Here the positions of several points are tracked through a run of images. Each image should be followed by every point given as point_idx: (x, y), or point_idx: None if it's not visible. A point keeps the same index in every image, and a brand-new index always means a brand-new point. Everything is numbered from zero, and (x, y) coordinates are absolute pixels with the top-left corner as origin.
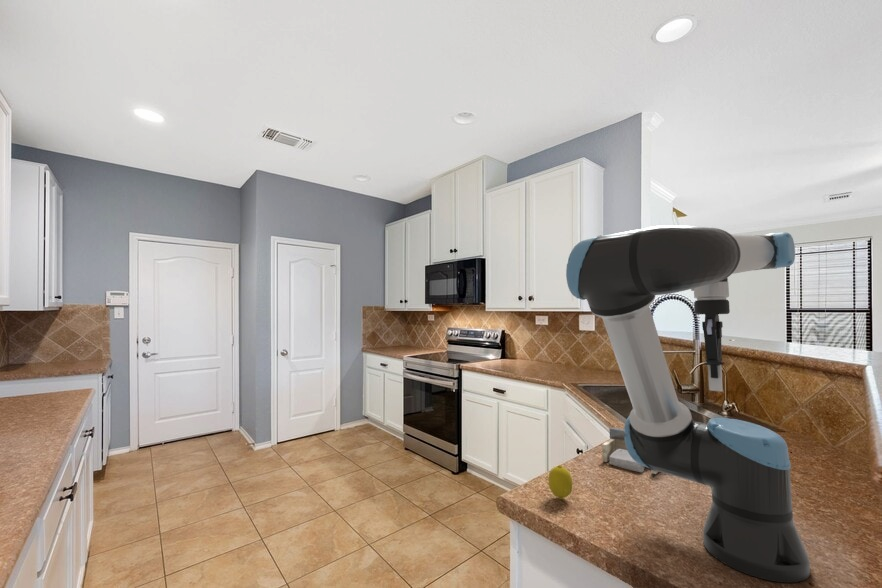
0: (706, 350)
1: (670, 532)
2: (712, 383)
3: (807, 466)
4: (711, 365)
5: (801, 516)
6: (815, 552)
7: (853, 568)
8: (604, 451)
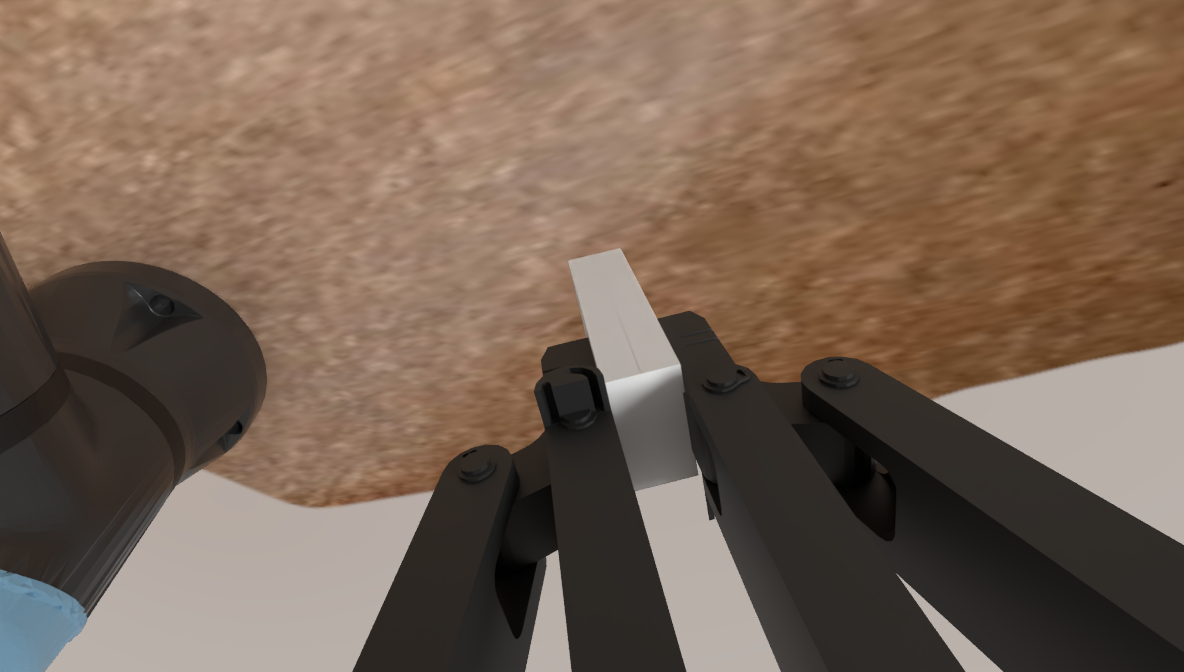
0: (377, 641)
1: (6, 182)
2: (581, 313)
3: (1003, 266)
4: (545, 443)
5: (516, 364)
6: (321, 432)
7: (321, 484)
8: None
